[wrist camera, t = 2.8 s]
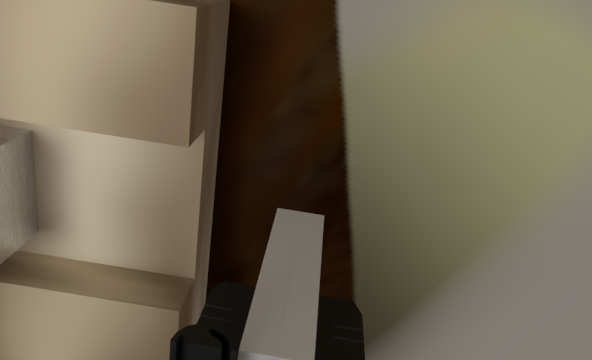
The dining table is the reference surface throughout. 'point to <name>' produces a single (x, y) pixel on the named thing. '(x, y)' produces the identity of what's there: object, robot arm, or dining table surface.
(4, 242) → the light grey cube
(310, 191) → the dining table surface
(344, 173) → the dining table surface
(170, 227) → the slot board
